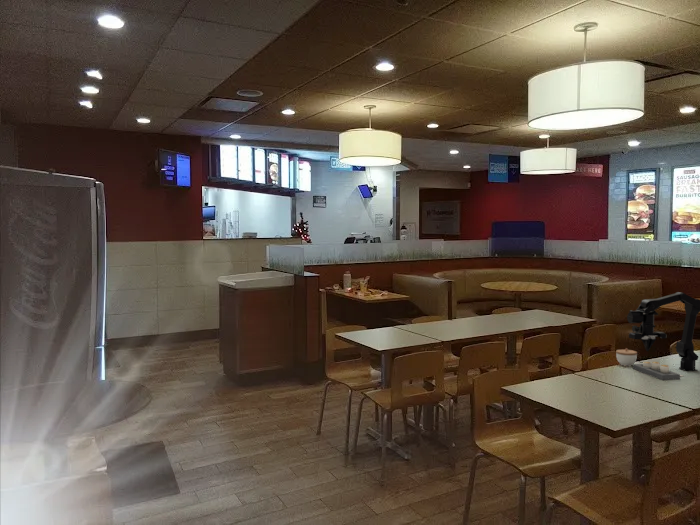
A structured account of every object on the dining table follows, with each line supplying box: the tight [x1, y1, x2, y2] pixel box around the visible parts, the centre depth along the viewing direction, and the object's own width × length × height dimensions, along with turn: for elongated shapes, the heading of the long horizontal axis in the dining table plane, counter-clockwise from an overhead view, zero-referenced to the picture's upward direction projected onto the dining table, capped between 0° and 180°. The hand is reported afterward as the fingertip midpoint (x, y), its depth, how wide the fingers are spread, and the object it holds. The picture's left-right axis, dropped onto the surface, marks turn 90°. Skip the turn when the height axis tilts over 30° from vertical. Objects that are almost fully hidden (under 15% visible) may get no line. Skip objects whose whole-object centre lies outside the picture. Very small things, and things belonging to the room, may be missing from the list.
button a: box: [642, 361, 652, 367], centre depth 305 cm, size 4×4×4 cm
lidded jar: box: [615, 347, 638, 367], centre depth 318 cm, size 11×11×9 cm
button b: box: [650, 361, 661, 370], centre depth 298 cm, size 4×4×4 cm
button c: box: [660, 364, 670, 374], centre depth 291 cm, size 4×4×4 cm
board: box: [632, 363, 681, 381], centre depth 298 cm, size 10×24×2 cm, turn 7°
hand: (647, 351), depth 304 cm, fingers closed
